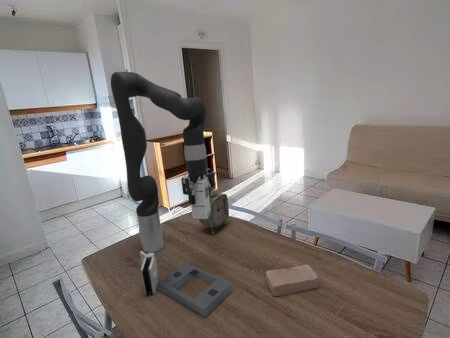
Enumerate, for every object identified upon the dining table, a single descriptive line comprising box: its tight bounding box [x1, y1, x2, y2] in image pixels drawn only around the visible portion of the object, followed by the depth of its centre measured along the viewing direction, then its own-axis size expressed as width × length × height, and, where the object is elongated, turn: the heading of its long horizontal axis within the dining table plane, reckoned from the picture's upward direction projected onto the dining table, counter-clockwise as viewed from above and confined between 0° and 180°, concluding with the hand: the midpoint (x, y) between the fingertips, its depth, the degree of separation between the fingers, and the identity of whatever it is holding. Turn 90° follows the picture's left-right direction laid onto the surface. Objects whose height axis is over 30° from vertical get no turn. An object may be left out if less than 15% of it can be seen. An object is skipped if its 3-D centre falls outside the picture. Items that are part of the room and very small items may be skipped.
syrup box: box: [189, 178, 211, 220], centre depth 99 cm, size 6×6×14 cm
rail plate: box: [157, 262, 233, 318], centre depth 93 cm, size 22×14×3 cm, turn 52°
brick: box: [264, 264, 320, 297], centre depth 93 cm, size 17×8×5 cm, turn 101°
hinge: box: [139, 250, 159, 297], centre depth 98 cm, size 14×5×10 cm, turn 18°
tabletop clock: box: [198, 181, 230, 235], centre depth 133 cm, size 14×9×25 cm, turn 147°
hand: (200, 200), depth 99 cm, fingers closed on syrup box, 7 cm apart
